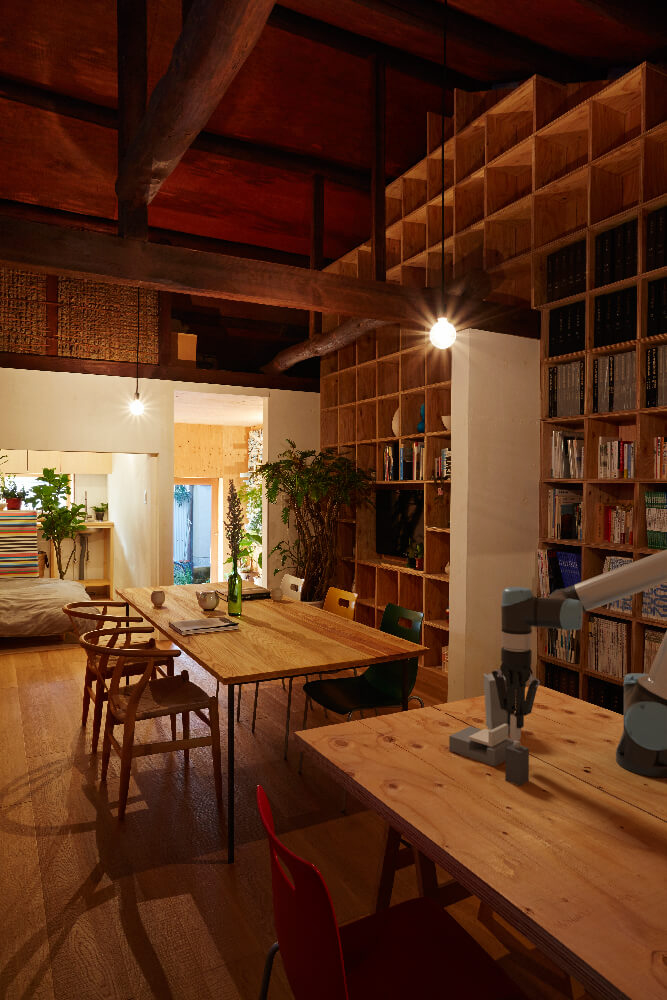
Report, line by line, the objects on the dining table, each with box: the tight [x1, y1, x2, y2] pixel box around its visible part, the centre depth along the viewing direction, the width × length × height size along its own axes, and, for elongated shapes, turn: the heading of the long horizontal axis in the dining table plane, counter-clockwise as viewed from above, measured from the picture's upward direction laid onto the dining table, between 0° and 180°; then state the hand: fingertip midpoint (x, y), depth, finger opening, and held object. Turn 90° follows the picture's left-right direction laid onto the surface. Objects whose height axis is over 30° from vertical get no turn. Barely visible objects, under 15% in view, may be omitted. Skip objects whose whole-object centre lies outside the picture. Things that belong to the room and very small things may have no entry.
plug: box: [504, 740, 530, 787], centre depth 156 cm, size 4×4×10 cm
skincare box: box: [483, 673, 510, 735], centre depth 190 cm, size 8×7×16 cm
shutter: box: [469, 724, 509, 747], centre depth 171 cm, size 7×8×4 cm
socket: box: [448, 726, 514, 767], centre depth 173 cm, size 14×10×4 cm
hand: (515, 739), depth 165 cm, fingers closed
